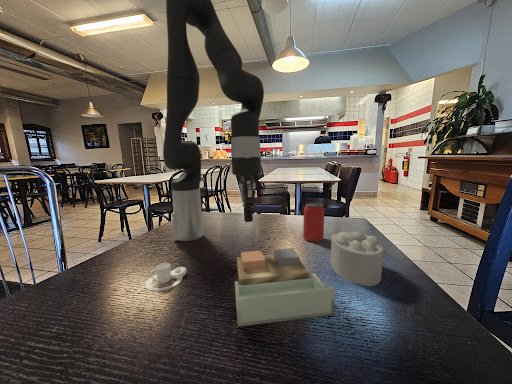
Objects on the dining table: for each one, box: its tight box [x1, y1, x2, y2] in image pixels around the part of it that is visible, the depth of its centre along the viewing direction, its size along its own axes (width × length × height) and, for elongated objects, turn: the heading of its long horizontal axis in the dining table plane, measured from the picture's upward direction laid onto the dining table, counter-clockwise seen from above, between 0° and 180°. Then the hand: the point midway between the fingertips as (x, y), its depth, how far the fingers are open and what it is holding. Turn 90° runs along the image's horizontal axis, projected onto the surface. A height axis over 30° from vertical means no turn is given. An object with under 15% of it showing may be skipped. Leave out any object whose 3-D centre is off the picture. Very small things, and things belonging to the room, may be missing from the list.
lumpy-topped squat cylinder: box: [330, 231, 384, 287], centre depth 52 cm, size 10×13×9 cm
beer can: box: [302, 202, 325, 243], centre depth 72 cm, size 7×7×12 cm
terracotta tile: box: [240, 250, 265, 270], centre depth 51 cm, size 5×5×2 cm
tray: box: [234, 273, 336, 328], centre depth 41 cm, size 17×8×5 cm, turn 98°
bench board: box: [236, 254, 310, 286], centre depth 51 cm, size 15×10×3 cm, turn 98°
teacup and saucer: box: [144, 262, 188, 292], centre depth 50 cm, size 9×8×4 cm
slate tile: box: [272, 247, 300, 267], centre depth 52 cm, size 5×5×2 cm
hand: (248, 221), depth 58 cm, fingers closed
